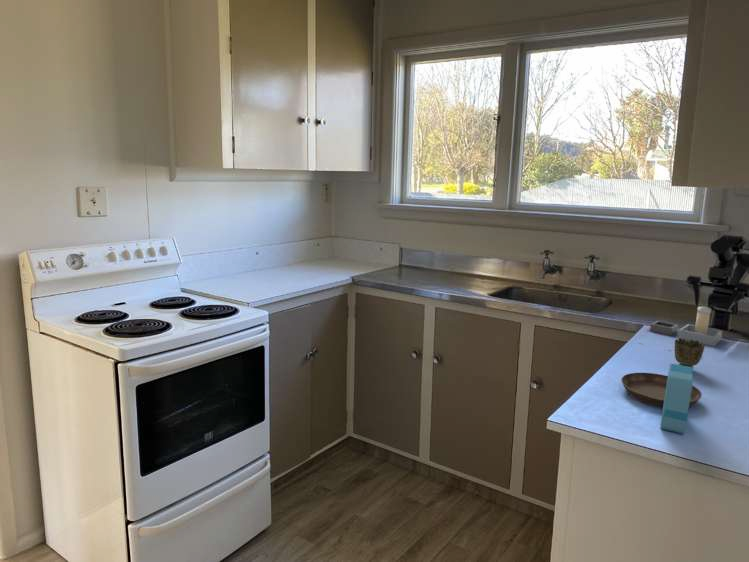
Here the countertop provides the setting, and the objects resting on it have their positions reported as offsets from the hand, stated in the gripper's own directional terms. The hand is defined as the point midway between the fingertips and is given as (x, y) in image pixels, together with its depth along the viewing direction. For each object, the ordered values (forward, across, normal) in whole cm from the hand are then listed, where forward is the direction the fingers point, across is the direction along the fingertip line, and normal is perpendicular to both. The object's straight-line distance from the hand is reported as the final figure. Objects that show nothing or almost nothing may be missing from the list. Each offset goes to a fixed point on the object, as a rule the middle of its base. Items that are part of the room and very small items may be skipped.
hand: (711, 308), depth 191 cm
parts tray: (+14, 0, -3) cm, 14 cm away
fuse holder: (+14, -11, -3) cm, 18 cm away
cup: (+32, +5, -30) cm, 44 cm away
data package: (+55, +13, -64) cm, 85 cm away
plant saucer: (+47, +6, -52) cm, 71 cm away
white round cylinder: (+13, 0, -3) cm, 13 cm away
